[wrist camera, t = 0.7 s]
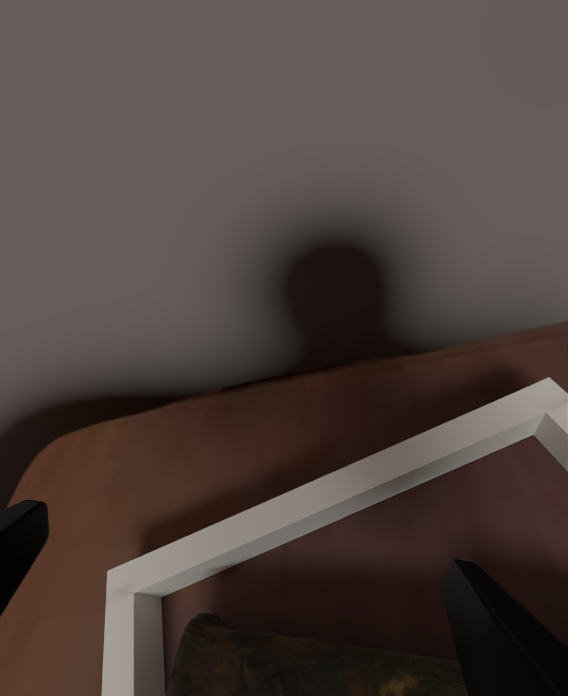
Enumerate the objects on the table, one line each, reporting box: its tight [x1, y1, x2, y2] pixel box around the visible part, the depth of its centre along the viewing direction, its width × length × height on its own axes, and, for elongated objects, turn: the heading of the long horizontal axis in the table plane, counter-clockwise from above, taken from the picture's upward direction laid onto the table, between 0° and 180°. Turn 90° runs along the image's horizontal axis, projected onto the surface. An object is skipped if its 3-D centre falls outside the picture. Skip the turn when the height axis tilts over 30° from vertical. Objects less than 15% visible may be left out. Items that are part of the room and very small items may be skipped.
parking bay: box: [102, 378, 568, 696], centre depth 17 cm, size 6×25×2 cm, turn 108°
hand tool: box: [166, 613, 468, 696], centre depth 12 cm, size 19×4×5 cm, turn 83°
